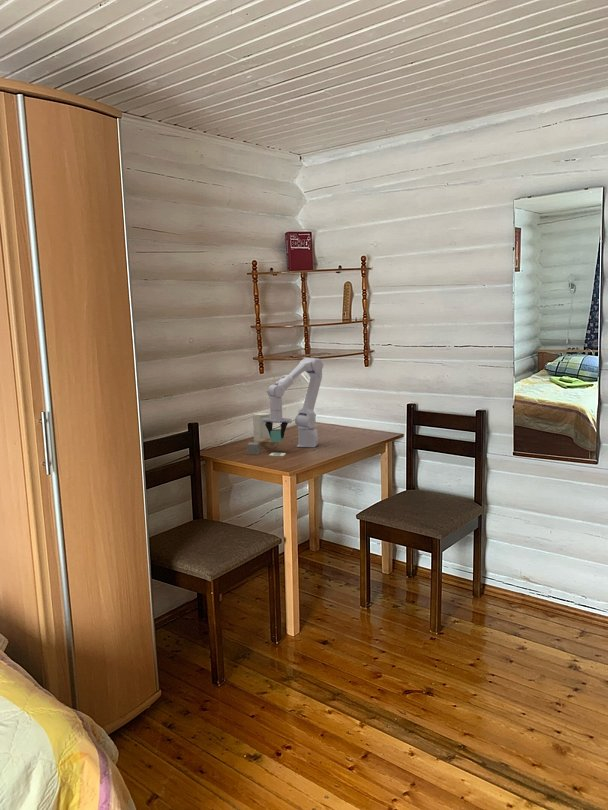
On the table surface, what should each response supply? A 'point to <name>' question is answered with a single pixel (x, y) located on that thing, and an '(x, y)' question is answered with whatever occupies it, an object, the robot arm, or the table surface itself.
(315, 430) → the robot arm
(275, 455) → the card
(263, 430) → the skincare box
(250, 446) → the charcoal cube
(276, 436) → the teal cube
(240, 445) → the table surface
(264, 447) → the walnut block
